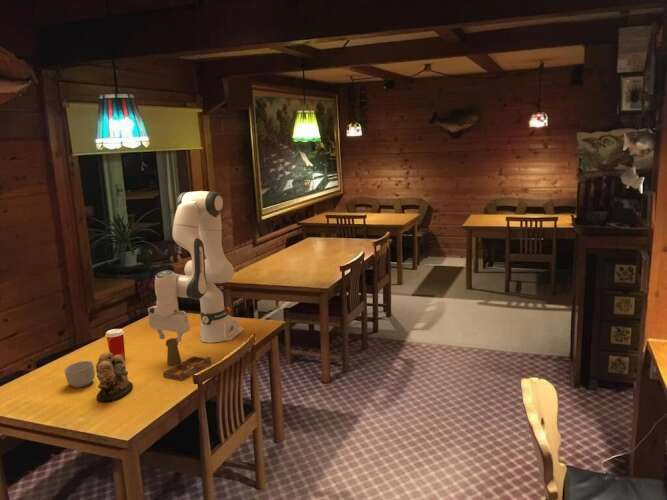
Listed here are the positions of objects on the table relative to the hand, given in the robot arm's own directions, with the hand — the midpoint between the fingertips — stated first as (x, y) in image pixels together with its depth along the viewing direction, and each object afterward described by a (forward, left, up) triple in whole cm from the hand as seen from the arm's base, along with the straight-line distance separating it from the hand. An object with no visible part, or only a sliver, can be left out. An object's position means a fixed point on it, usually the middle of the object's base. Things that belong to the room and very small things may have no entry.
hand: (170, 340), depth 240 cm
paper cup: (+7, -26, -11) cm, 29 cm away
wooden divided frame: (+3, +11, -11) cm, 16 cm away
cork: (-1, 0, -11) cm, 11 cm away
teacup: (+29, -22, -11) cm, 38 cm away
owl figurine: (+31, -1, -11) cm, 33 cm away
